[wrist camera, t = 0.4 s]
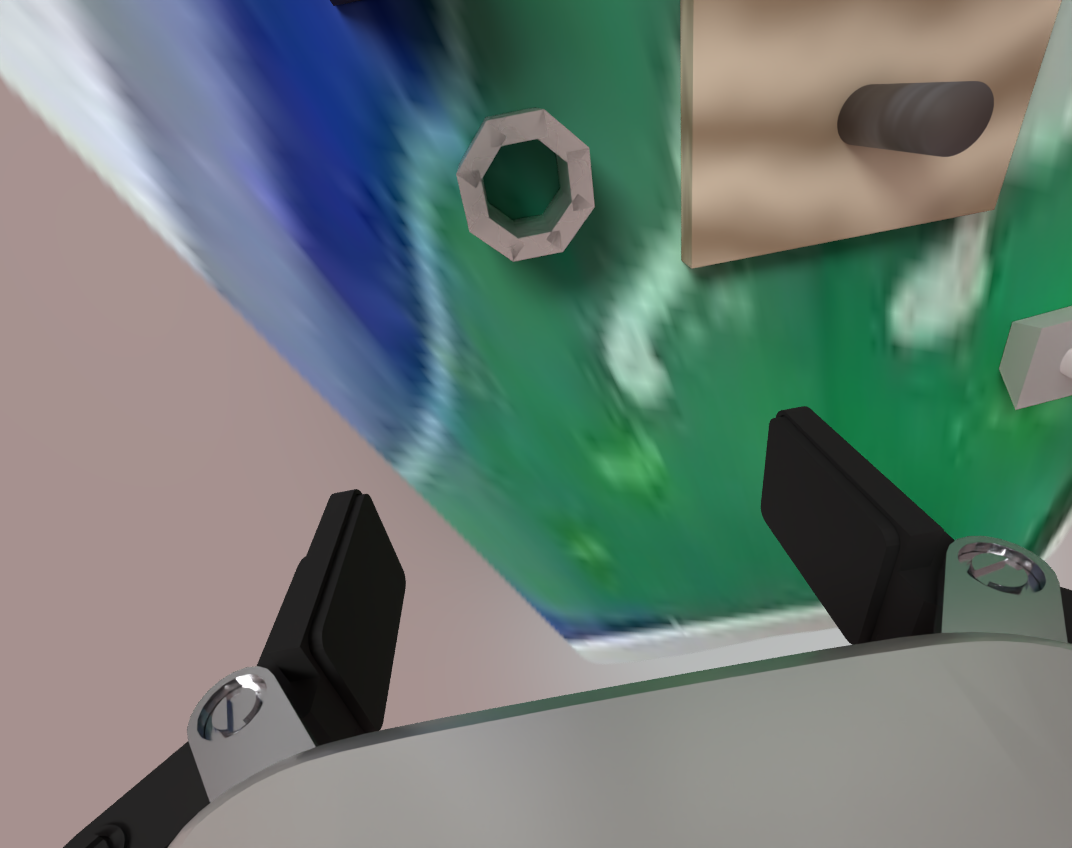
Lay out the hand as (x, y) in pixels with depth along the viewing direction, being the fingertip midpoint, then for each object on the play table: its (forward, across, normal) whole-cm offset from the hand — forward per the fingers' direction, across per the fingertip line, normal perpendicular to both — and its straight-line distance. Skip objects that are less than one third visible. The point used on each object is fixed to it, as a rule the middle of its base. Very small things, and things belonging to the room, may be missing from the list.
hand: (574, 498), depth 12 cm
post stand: (+25, -21, -4) cm, 33 cm away
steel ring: (+25, -1, -4) cm, 26 cm away
